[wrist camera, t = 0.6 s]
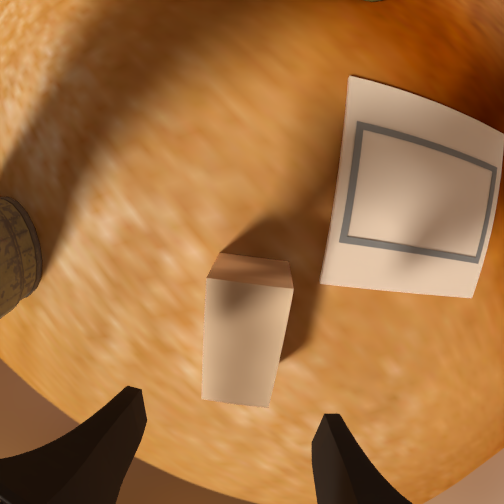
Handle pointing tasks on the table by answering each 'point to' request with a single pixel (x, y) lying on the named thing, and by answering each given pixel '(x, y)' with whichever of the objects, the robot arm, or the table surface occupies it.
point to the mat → (411, 195)
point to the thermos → (17, 255)
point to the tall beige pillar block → (244, 328)
